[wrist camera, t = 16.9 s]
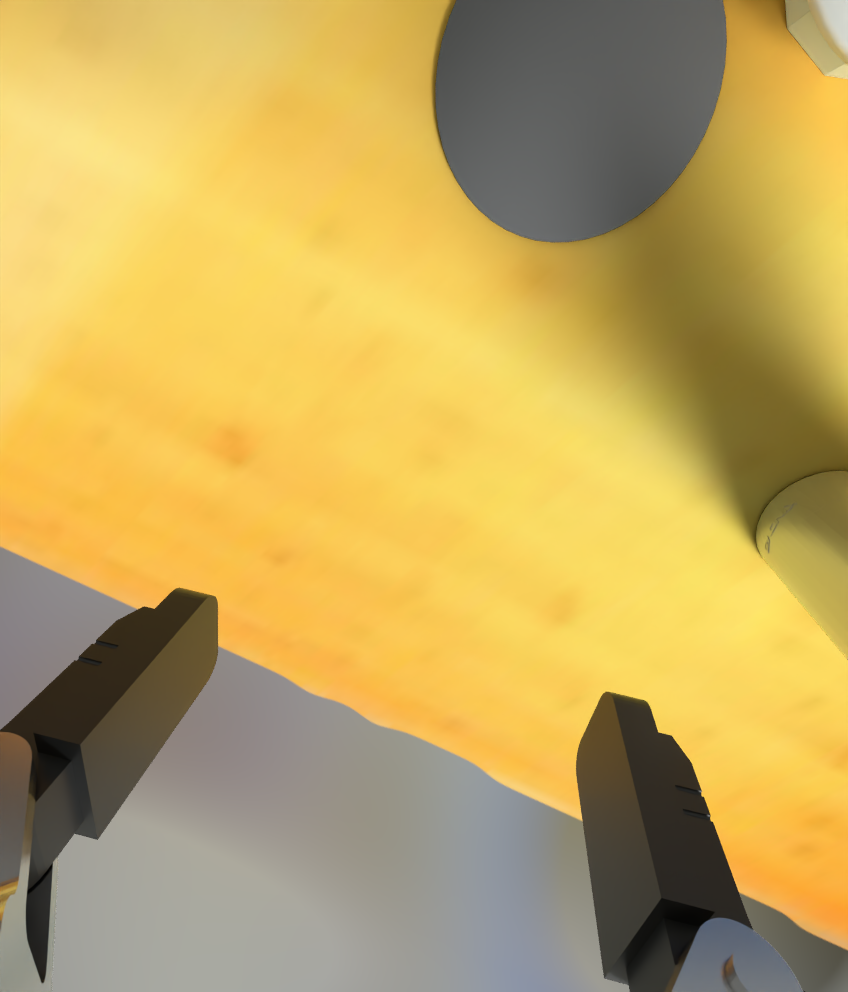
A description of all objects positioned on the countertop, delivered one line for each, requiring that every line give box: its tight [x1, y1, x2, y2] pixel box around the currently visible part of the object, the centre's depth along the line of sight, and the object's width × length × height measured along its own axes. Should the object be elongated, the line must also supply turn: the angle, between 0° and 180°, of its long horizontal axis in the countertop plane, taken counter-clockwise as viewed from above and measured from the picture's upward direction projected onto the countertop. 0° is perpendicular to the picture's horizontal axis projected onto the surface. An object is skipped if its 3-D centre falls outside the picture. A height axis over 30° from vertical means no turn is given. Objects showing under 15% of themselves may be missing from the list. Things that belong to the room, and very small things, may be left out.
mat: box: [436, 0, 727, 242], centre depth 30 cm, size 16×16×1 cm
